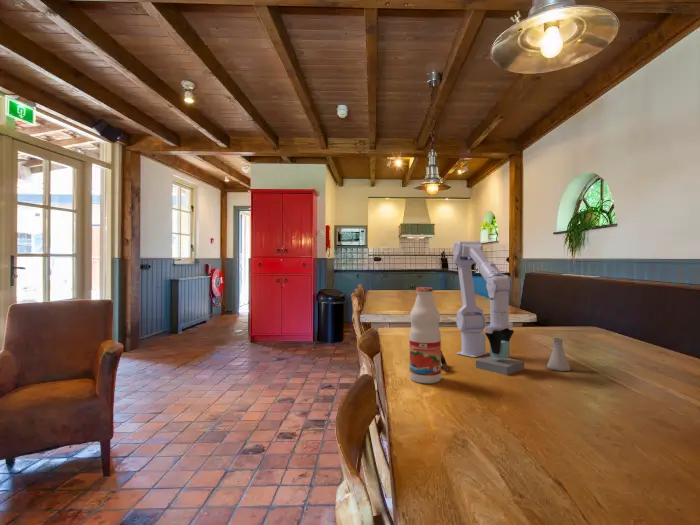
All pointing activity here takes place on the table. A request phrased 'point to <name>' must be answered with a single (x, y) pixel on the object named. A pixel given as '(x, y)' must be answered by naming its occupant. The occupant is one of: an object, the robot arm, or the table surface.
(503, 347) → the teal block
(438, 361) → the fruit juice
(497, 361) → the gray base
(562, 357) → the flask
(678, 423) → the table surface
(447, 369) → the brown broken pot
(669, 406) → the table surface
